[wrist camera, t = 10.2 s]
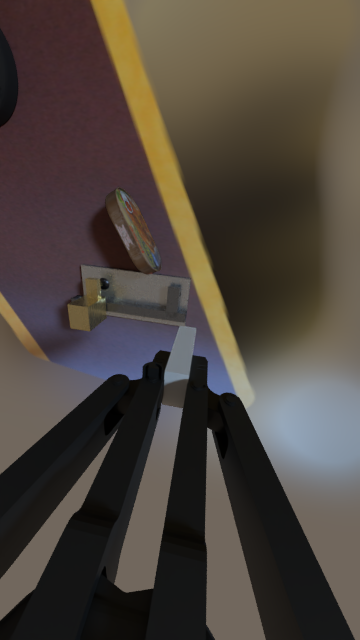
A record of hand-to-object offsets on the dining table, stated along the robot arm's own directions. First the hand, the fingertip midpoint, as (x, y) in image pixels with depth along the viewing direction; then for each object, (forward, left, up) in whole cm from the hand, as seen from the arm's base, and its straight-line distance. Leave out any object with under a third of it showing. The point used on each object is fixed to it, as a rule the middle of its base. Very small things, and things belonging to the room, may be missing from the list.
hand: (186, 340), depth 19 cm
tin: (-8, -13, -27) cm, 31 cm away
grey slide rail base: (+6, -14, -25) cm, 30 cm away
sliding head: (+6, -22, -25) cm, 34 cm away
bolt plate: (+6, -14, -26) cm, 30 cm away
